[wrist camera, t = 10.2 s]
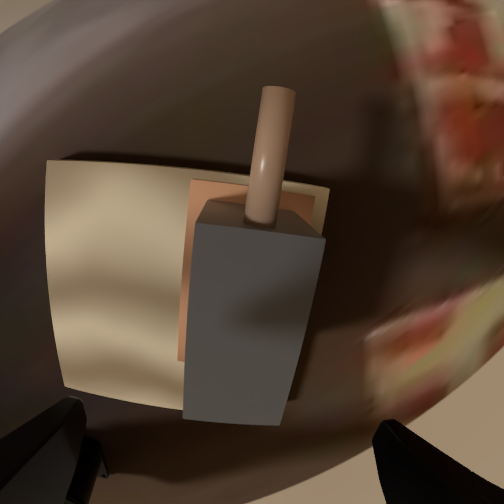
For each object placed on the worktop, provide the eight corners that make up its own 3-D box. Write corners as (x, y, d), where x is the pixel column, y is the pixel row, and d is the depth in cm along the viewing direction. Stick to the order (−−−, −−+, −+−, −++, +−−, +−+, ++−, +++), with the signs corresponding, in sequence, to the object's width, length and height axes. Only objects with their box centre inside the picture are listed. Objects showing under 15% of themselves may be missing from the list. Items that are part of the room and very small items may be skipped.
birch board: (275, 403, 22) (278, 417, 21) (71, 375, 21) (64, 387, 19) (322, 186, 18) (330, 189, 17) (59, 159, 16) (46, 160, 15)
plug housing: (266, 356, 19) (279, 425, 13) (193, 349, 19) (182, 418, 13) (308, 117, 15) (348, 98, 10) (220, 103, 15) (215, 74, 9)
